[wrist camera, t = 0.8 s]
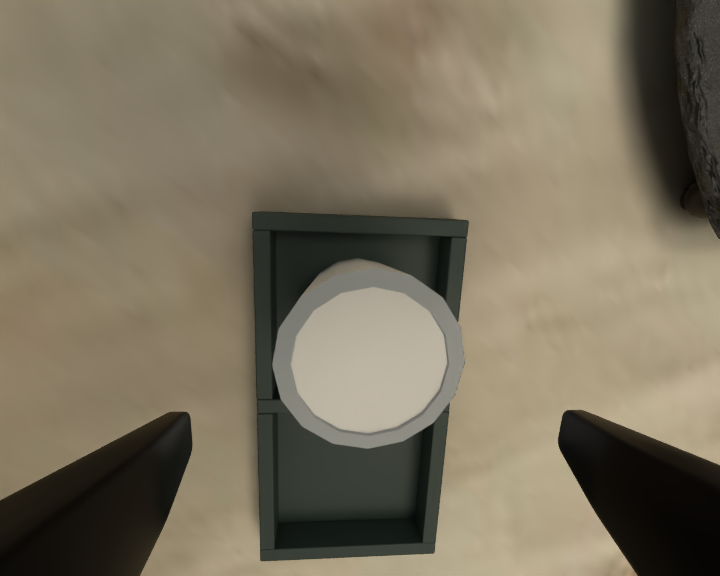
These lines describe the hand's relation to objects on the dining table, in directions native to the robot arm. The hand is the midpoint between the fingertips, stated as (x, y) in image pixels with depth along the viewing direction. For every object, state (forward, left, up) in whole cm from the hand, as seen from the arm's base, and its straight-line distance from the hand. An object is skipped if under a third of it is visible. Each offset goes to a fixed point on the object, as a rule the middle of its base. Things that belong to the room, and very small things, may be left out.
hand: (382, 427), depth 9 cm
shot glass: (0, 0, -11) cm, 11 cm away
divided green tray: (-5, 0, -11) cm, 12 cm away
